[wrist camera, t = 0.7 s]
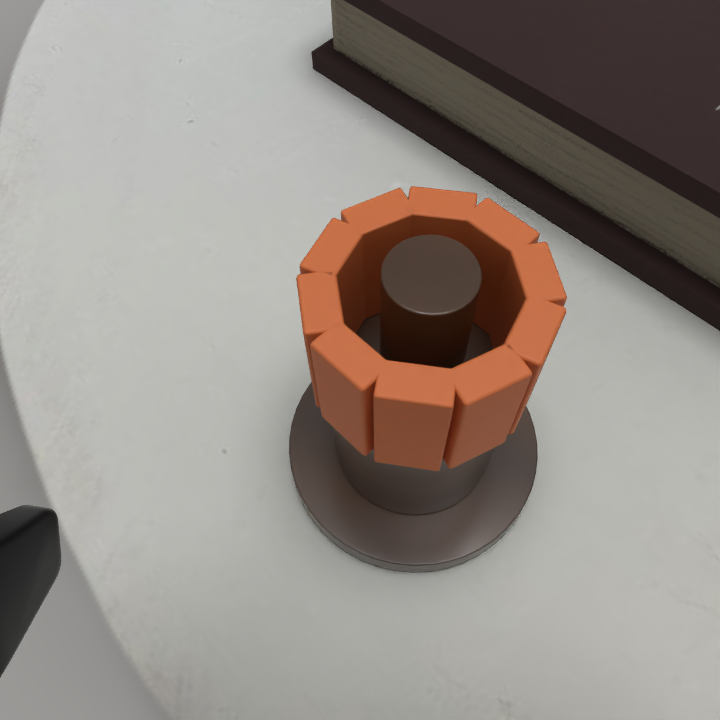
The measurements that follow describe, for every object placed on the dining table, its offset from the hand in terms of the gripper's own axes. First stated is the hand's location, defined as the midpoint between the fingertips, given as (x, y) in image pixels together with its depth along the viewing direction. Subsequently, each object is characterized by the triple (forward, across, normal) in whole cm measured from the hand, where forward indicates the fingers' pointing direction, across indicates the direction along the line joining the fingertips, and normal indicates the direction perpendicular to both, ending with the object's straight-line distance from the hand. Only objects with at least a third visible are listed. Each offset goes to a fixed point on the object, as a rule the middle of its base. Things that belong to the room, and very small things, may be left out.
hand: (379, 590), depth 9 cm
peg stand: (+16, 0, +6) cm, 17 cm away
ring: (+12, 0, +1) cm, 12 cm away
